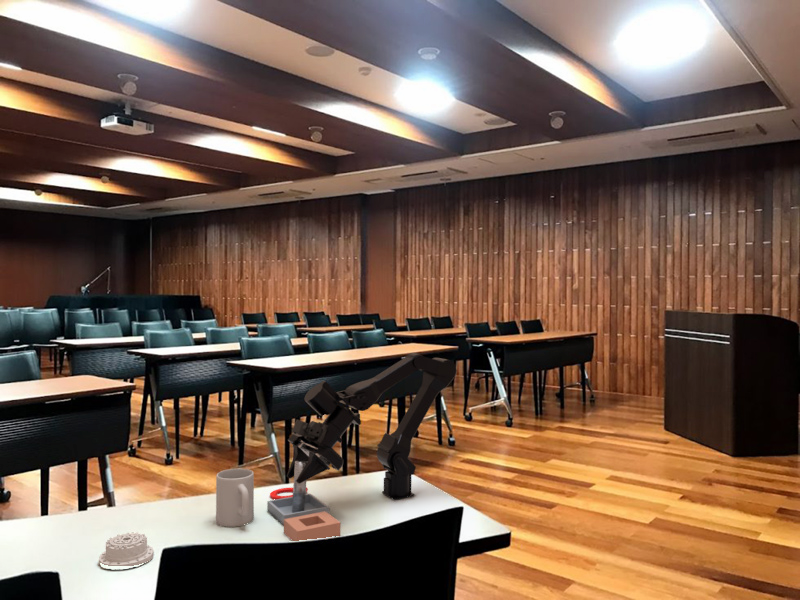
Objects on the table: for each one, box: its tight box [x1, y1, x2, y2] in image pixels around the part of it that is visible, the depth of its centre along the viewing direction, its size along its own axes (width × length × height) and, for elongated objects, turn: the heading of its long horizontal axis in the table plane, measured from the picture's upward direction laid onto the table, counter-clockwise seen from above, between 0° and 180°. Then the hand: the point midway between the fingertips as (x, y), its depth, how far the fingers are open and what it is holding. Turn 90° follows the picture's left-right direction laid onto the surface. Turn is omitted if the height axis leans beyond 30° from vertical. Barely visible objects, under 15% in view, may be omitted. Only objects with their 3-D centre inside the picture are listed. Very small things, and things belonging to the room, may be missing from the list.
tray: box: [266, 493, 330, 527], centre depth 151 cm, size 11×11×2 cm
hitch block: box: [283, 511, 341, 542], centre depth 139 cm, size 10×8×3 cm
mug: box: [215, 468, 255, 528], centre depth 146 cm, size 12×8×11 cm
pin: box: [292, 460, 308, 513], centre depth 151 cm, size 3×3×12 cm
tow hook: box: [269, 486, 309, 500], centre depth 165 cm, size 8×13×9 cm
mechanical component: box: [98, 532, 155, 566], centre depth 126 cm, size 10×4×10 cm
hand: (292, 479), depth 151 cm, fingers open, 5 cm apart
